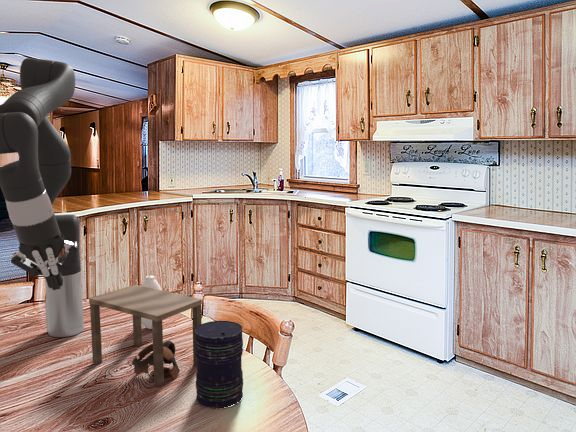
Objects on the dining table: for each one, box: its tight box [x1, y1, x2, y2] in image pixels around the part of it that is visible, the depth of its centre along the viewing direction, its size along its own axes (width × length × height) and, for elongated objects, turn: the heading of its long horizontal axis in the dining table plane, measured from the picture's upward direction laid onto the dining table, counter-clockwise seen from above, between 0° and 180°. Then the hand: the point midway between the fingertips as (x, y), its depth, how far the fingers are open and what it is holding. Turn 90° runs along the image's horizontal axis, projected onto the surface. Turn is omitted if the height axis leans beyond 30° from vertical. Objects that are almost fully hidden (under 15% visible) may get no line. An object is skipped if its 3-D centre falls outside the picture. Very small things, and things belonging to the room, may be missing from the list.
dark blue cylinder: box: [195, 320, 244, 410], centre depth 102 cm, size 10×10×15 cm
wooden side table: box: [88, 284, 203, 388], centre depth 117 cm, size 23×14×16 cm, turn 58°
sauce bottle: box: [140, 267, 163, 330], centre depth 140 cm, size 8×8×18 cm
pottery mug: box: [131, 340, 181, 380], centre depth 113 cm, size 12×10×8 cm
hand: (57, 287), depth 103 cm, fingers closed
